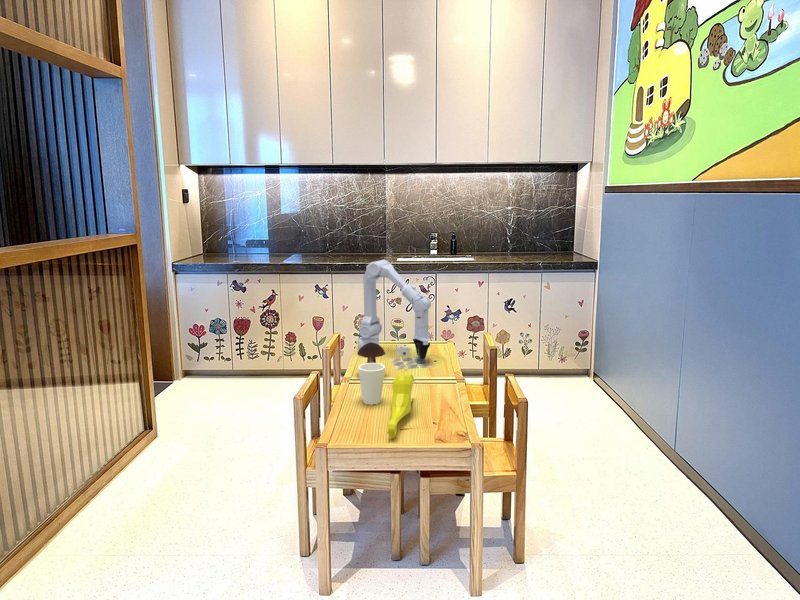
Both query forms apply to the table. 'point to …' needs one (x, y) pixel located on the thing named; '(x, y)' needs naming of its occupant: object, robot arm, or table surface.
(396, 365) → the board
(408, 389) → the banana
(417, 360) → the pawn
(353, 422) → the table surface
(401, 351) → the die
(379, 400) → the foam cup
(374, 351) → the decorative mushroom
